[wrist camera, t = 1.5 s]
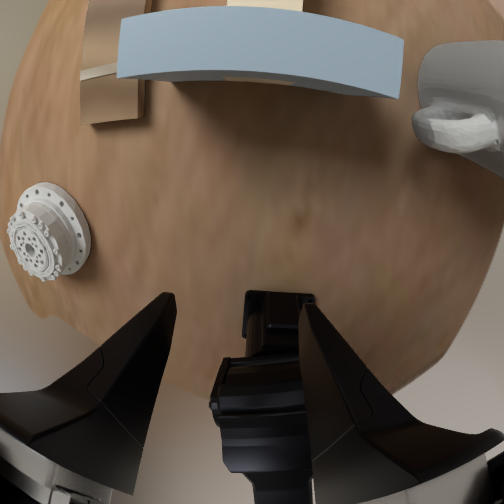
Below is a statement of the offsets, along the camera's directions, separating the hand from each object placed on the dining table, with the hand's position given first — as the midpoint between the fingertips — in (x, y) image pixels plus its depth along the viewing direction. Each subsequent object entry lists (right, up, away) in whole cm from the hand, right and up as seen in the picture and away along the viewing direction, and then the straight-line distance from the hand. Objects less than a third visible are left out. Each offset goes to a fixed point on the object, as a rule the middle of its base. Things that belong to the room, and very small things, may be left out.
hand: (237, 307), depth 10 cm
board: (-9, +19, +3) cm, 21 cm away
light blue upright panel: (+1, +18, +3) cm, 19 cm away
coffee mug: (+16, +14, +5) cm, 22 cm away
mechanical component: (-19, +5, +13) cm, 24 cm away
